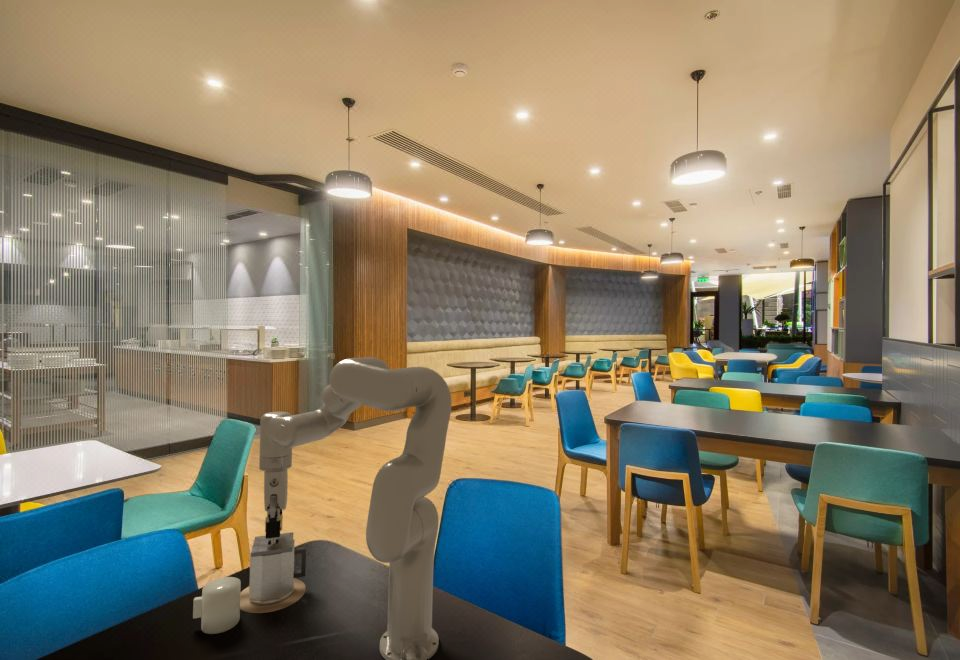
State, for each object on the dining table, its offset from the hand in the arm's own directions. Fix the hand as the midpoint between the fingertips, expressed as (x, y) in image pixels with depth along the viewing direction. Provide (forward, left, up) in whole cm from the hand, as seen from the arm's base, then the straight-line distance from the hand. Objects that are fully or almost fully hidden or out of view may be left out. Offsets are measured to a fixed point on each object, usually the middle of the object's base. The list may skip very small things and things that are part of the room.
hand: (274, 529), depth 116 cm
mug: (-9, +10, -17) cm, 22 cm away
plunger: (0, 0, -15) cm, 15 cm away
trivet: (0, 0, -17) cm, 17 cm away
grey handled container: (0, -1, -16) cm, 16 cm away
